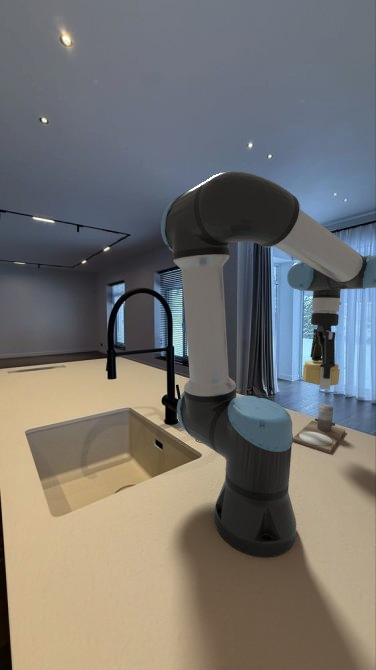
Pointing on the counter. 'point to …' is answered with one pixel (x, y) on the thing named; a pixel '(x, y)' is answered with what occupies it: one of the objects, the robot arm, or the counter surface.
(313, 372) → the cap
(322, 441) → the post board
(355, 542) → the counter surface
